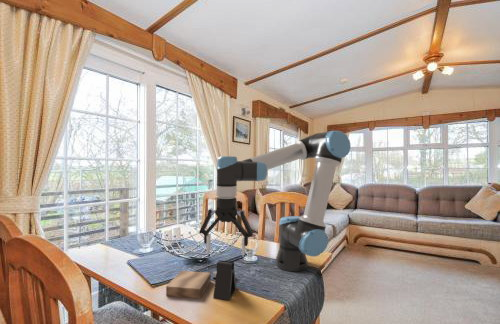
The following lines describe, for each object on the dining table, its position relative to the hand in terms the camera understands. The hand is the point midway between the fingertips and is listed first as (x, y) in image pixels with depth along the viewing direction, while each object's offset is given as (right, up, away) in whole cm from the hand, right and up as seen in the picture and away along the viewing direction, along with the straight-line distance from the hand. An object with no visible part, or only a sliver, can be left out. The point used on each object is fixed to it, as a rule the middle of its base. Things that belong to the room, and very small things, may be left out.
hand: (225, 253), depth 95 cm
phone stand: (0, -15, 0) cm, 15 cm away
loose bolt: (-3, -15, +12) cm, 19 cm away
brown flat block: (-14, -15, +3) cm, 21 cm away
